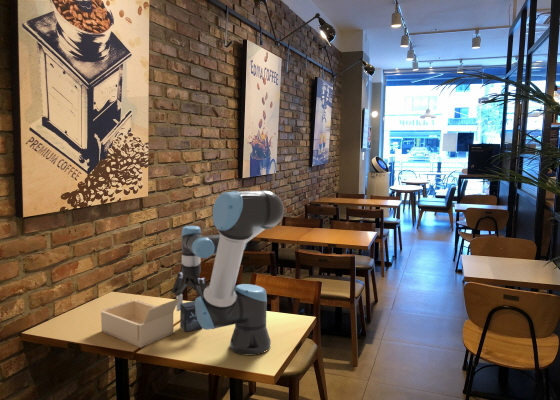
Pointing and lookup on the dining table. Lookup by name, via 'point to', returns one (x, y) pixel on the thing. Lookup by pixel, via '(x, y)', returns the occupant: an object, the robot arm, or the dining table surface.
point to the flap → (161, 311)
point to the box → (188, 317)
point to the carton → (135, 323)
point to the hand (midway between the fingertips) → (191, 314)
